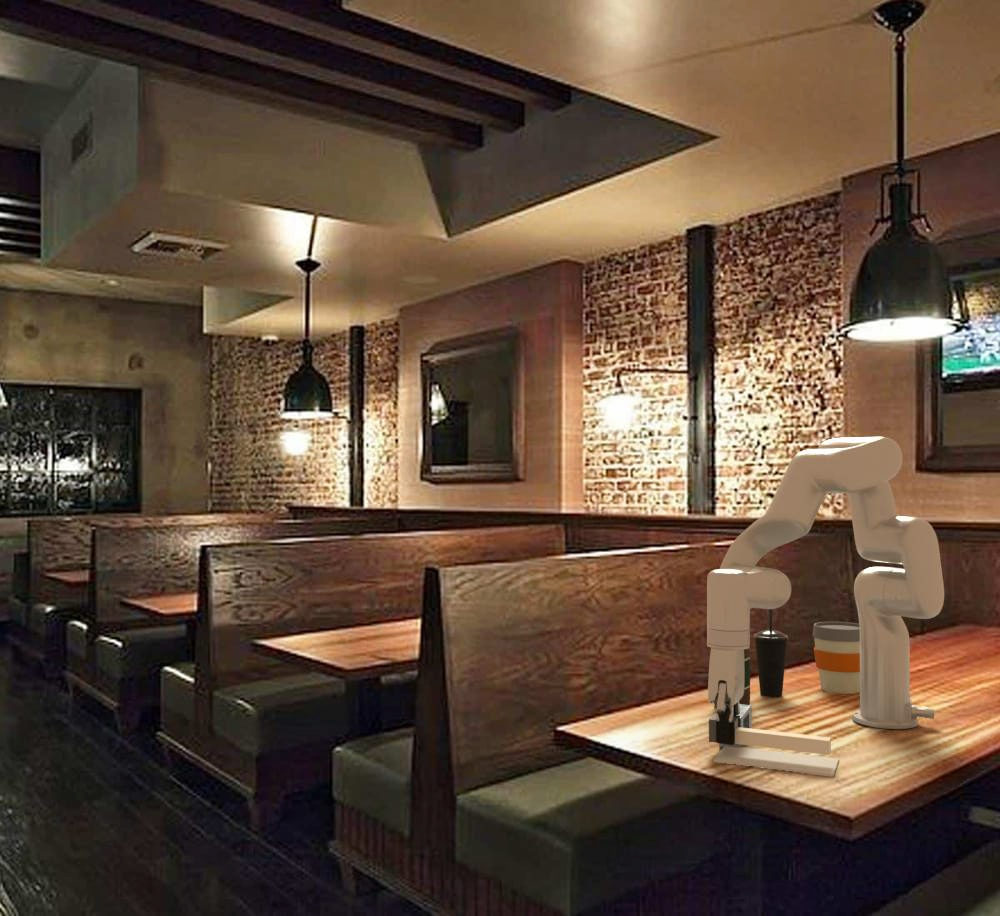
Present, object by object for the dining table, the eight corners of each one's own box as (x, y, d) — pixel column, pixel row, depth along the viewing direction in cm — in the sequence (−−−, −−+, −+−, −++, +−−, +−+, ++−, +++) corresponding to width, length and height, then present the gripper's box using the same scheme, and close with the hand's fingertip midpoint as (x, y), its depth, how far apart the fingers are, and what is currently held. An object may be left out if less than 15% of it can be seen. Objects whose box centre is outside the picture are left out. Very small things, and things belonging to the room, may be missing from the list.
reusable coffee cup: (852, 698, 217) (851, 631, 217) (802, 688, 227) (802, 625, 227) (879, 689, 226) (878, 625, 226) (830, 681, 235) (830, 619, 235)
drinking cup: (749, 691, 224) (748, 605, 224) (781, 691, 224) (780, 605, 225) (760, 699, 216) (760, 610, 216) (793, 698, 217) (793, 609, 217)
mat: (838, 760, 169) (838, 758, 169) (833, 777, 160) (833, 774, 160) (725, 747, 178) (725, 745, 178) (713, 762, 169) (713, 759, 169)
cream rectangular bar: (831, 750, 167) (831, 727, 167) (828, 756, 163) (828, 732, 164) (713, 736, 176) (713, 714, 176) (708, 741, 172) (708, 719, 172)
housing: (751, 735, 186) (751, 705, 186) (740, 750, 176) (740, 718, 176) (730, 732, 188) (730, 703, 188) (719, 747, 178) (718, 716, 178)
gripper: (717, 630, 182) (717, 727, 182) (696, 643, 167) (696, 749, 166) (757, 633, 179) (757, 731, 179) (740, 647, 164) (740, 755, 163)
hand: (728, 739), depth 173 cm, fingers closed on cream rectangular bar, 4 cm apart
